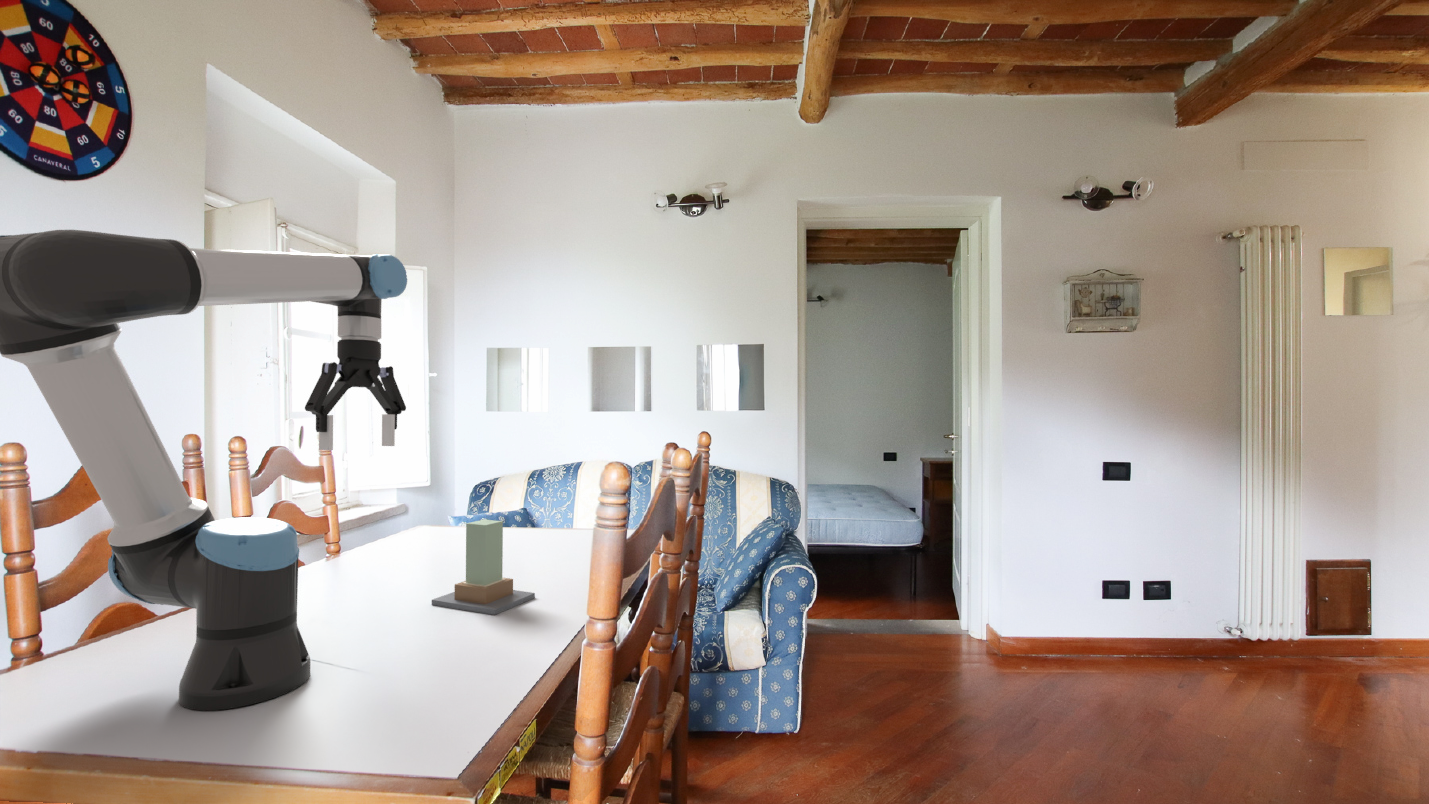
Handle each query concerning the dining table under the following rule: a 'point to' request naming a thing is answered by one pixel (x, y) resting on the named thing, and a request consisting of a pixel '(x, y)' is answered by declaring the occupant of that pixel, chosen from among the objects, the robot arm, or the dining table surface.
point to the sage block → (484, 551)
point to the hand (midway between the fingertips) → (358, 448)
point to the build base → (487, 607)
